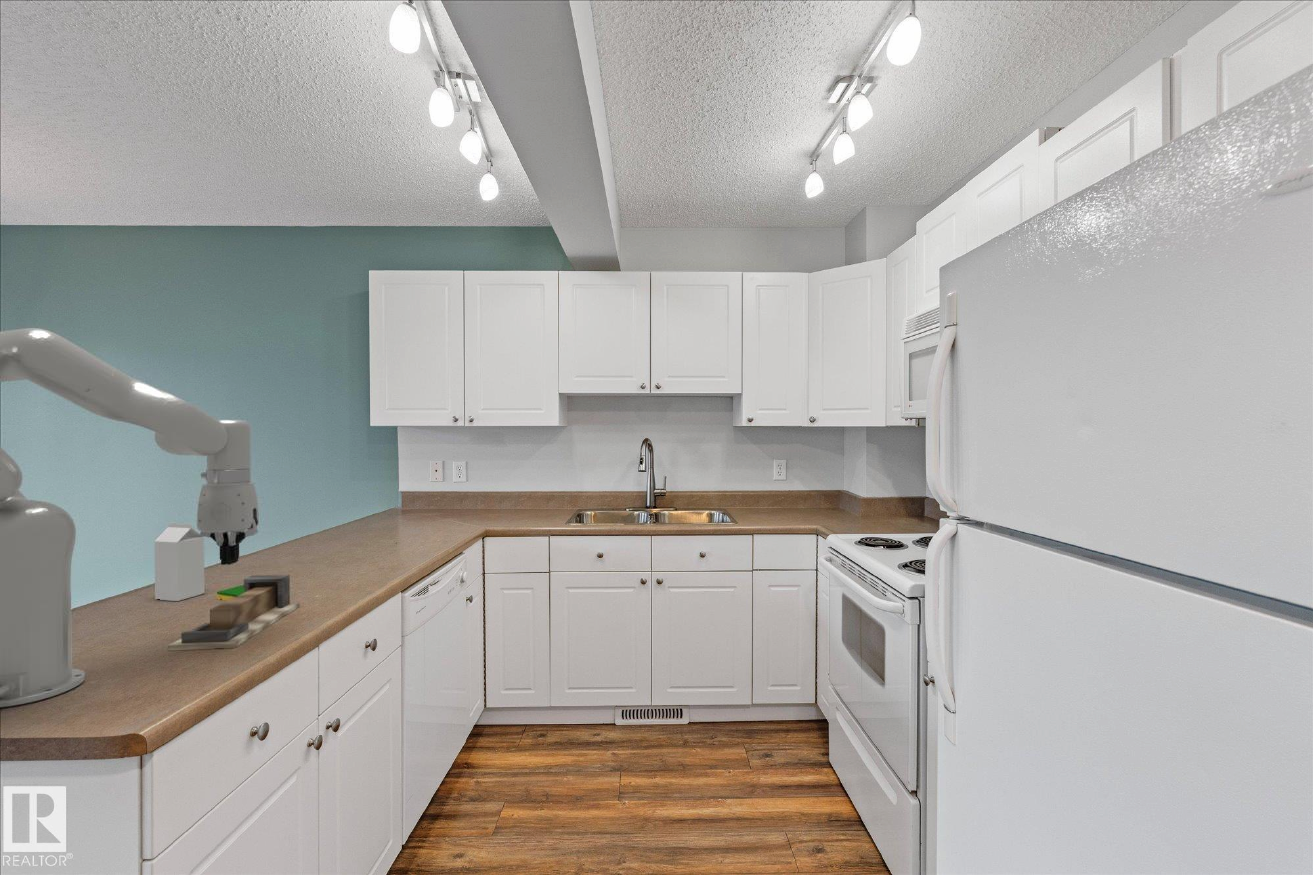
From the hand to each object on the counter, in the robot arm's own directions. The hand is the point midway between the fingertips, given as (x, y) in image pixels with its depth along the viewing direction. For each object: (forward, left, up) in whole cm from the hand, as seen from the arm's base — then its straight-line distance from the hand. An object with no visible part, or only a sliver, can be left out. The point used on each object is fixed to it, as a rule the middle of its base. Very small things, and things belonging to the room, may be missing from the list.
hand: (229, 563), depth 124 cm
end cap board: (+4, 0, -15) cm, 15 cm away
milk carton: (+29, +28, -15) cm, 43 cm away
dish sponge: (+26, +10, -16) cm, 32 cm away
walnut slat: (+6, 0, -14) cm, 15 cm away
